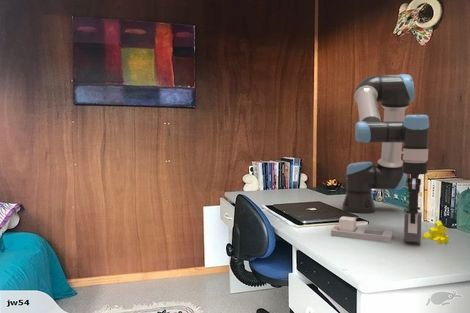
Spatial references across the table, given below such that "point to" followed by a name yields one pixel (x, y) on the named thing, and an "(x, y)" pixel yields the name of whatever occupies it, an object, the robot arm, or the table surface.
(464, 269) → the table surface
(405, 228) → the block
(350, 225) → the block
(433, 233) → the yellow lumpy cluster
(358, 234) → the power strip
